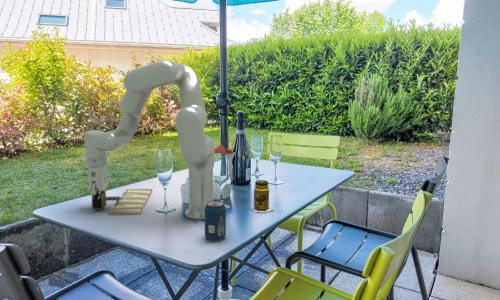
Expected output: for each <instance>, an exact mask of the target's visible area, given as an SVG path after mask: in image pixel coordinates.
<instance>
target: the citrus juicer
mask: <svg viewBox="0 0 500 300" xmlns="http://www.w3.org/2000/svg"><path fill="white" fill-rule="evenodd" d="M226 149H227V151H226V150H225V147H224V146H223V145H222V144H219V145H218V146H217V147H216V148H215V147H214V154H215V153H227V152H228V153H227V154H229V177H230V180H231V182H232V183H233V181H232V168H233V165H232V159H233V157H234V155H235V156H236V152H233V151H232V150H234V149H232V148H226Z"/></svg>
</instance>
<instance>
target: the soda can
mask: <svg viewBox="0 0 500 300" xmlns="http://www.w3.org/2000/svg"><path fill="white" fill-rule="evenodd" d="M226 211H227V208H226V206H225V203H224V201H221V200H214V201H209V202H207V203H206V207H205V219H204V236H205V238H206V240H207V241H209V240H210V242H220V241H223V240H224V238H225V237H226V235H227V231H226V230H227V229H226V228H227V226H226V225H227V223H226V221H227V218H226V217H227V214H226V213H227V212H226Z"/></svg>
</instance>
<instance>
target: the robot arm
mask: <svg viewBox="0 0 500 300" xmlns="http://www.w3.org/2000/svg"><path fill="white" fill-rule="evenodd" d="M123 86H124V89H125V90H126V91H125V92H124V94H123V96H122V98H121V100H120V102H119V104H118V105H119V106H118V107H119V108H120V109H121V111H122V112H121V113H122V114H121V115H122V116H121V119H120V121H119V122H118V125H117V127H116V129H112V130H110V131H109V130H108V131H103V130H99V129H93V130H86V131H85V132H84V134H83V139H84V151H85V162H86V163H85V164H86V165H85V166H86V167H87V168H88V190H89V192H90V195H91V202H92V201H93V209H92V210H102V209H101V208H102V203H101V198H100V191H101V192H102V191H106V189H107V187H108V186H109V178H108V170H107V165H108V160H107V152H113V151H117V150H119V149H121V148H124V147H127V145H128V144H129V143H130V142H131V141H132V139H133V137H134V135H135V133H136V132H137V130H138V127H139V123H140V120H141V114H142V113H143V110H144V108H145V106H146V104H147V102H148V100H149V99H150V97H151V95H152V93H153V91H154V90H156V89H157V88H161V87H164V86H177V88H178V89H177V90H178V98H179V101H180V108H181V109H179V111H178V112H177V114H176V117H175V128H176V132H177V139H178V142H179V143H178V144H179V149H180V152H181V153H180V154H181V155H182V157H183V159H185V161H186V162H188V170H187V171H188V175H187V176H188V208H187V209H186V210H185V212H184V213H185V215H184V216H186V217H187V218H189V219H193V220H205V207H206V203H207V202H209V201H215V200H214V191H215V190H214V185H213V167H214V149H215V143H214V140H213V139H212V137H211V136H210V135H208V134H205V130H204V129H205V126H206V125H207V123H208V116H207V115H208V114H207V112H206V107H205V103H204V97H203V93H202V92H203V91H202V86H201V83H200V79H199V77H198V75H197V73H196V72H195V70H194V69H193V68H191V67H190V66H188V65H186V64H184V63H181V62H178V61H173V60H172V61H171V60H159V61H154V62H151V63H149V64H146V65H144V66H140V67H137V68H134V69H131V70H129V71H128V72H127V73H126V74H125V75H124V77H123ZM96 193H98V194H96Z"/></svg>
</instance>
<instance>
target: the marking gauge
mask: <svg viewBox="0 0 500 300" xmlns="http://www.w3.org/2000/svg"><path fill="white" fill-rule="evenodd" d="M96 194H98V193H96ZM120 196H121V195H120ZM120 196H119V195H118V196H107V193H106V190H105V191H102V192H101V191H100V198H101V203H102V208H101V209H100V210H104V208H105V207H107V201H108V202H109V201H113V202H114V201H115V203H118V200H120ZM91 206H92V210H94V209H93V201H92V200H91Z"/></svg>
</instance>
